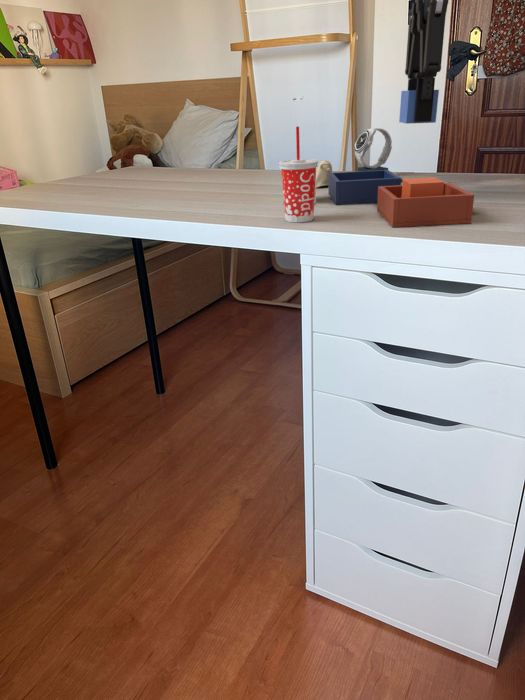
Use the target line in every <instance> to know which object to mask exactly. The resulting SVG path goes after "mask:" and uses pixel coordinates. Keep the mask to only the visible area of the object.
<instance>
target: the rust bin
mask: <svg viewBox="0 0 525 700" xmlns="http://www.w3.org/2000/svg"><path fill="white" fill-rule="evenodd" d="M401 197H402V184H401V185H396V186H379V187H378V201H377V203H376V204H377V205H376V212H377V213H378V214H379V215H380V217H382V218H383V219H384V220H385V221H386V222H387V224H388V225H389V226H390V227H391V228H406V227H425V226H443V225H444V226H445V225H465V224H471V223H472V218H473V210H474V202H475V194H473V193H471V192H469V191H467V190H465V189H463V188H460V187H459V186H456V185H455V184H452V183H450V182H444V189H443V196H425V197H407V198H401Z"/></svg>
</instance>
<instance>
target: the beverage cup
mask: <svg viewBox="0 0 525 700" xmlns="http://www.w3.org/2000/svg"><path fill="white" fill-rule="evenodd" d="M295 140H296V142H295V143H296V144H295V145H296V147H295V148H296V158H295V159H287V160H281V161H279V162H278V166H279V167H278V168H279V169H280V172H281V184H282V195H283V205H284V218H285V221H286V222H288V223H306V222H307V223H308V222H311V221H313V220H314V219H315V218H314V217H315V216H314V214H315V203H314V198H315V178H316V170H317V167H318V164H319V161H318V159H314V158H301V156H300V155H301V154H300V153H301V152H300V151H301V150H300V147H301V146H300V126H295Z"/></svg>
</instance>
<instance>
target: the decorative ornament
mask: <svg viewBox="0 0 525 700" xmlns="http://www.w3.org/2000/svg"><path fill="white" fill-rule="evenodd" d="M329 173H333V166H332V164H331V162H330V161H329V160H326V159H323V160H320V162H319V163H318V164H317V167H316V189H317V188H320V187H326V186H327V187H328V177H329Z"/></svg>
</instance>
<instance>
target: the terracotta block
mask: <svg viewBox="0 0 525 700" xmlns="http://www.w3.org/2000/svg"><path fill="white" fill-rule="evenodd" d="M444 183H445V182H444V181H443V180H441V179H439V178H437V177H435V176H432V177H431V176H430V177H413V178H411V177H410V178H402V180H401V185H402V197H401V198H407V197H425V196H443V189H444Z"/></svg>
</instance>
